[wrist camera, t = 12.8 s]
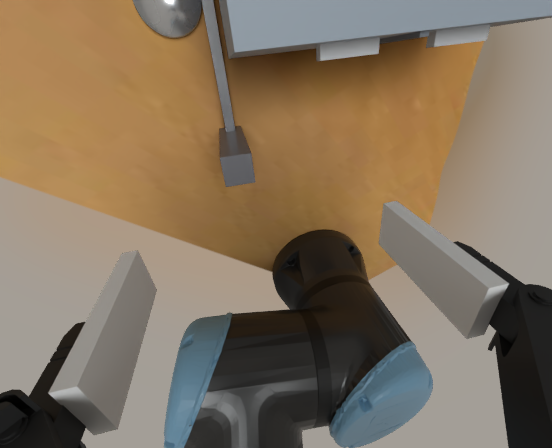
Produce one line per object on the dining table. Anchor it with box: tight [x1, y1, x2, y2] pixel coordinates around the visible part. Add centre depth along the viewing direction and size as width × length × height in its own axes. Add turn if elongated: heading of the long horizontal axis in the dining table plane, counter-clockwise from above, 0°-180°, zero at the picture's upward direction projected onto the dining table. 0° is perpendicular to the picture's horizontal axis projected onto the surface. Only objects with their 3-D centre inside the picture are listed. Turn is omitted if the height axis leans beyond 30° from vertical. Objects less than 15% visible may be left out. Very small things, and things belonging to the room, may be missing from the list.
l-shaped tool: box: [202, 0, 255, 187], centre depth 22 cm, size 18×2×12 cm, turn 6°
